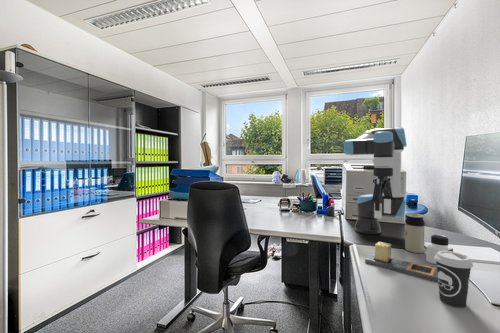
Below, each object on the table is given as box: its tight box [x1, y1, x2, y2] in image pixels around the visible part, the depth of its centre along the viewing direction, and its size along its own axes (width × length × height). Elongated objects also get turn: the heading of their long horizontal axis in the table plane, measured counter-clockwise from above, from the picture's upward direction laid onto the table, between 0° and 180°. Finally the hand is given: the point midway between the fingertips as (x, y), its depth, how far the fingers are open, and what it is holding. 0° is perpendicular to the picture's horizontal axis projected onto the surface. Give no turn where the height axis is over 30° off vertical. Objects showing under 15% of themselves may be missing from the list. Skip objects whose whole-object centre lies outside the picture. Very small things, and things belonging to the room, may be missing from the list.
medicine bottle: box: [425, 234, 454, 265], centre depth 108 cm, size 7×7×12 cm
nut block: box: [374, 241, 392, 264], centre depth 108 cm, size 5×5×8 cm
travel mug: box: [404, 212, 425, 254], centre depth 123 cm, size 8×8×18 cm
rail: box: [364, 252, 438, 283], centre depth 103 cm, size 9×26×2 cm, turn 46°
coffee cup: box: [434, 251, 474, 308], centre depth 79 cm, size 10×10×15 cm
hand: (382, 215), depth 108 cm, fingers open, 13 cm apart
